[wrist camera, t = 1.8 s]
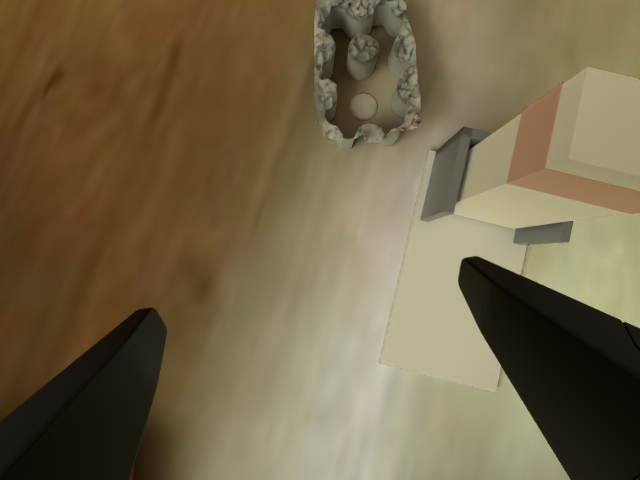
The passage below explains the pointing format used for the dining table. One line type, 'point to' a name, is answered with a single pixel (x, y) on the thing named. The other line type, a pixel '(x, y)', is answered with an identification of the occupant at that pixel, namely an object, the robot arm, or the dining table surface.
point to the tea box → (560, 157)
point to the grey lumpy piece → (365, 65)
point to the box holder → (450, 275)
